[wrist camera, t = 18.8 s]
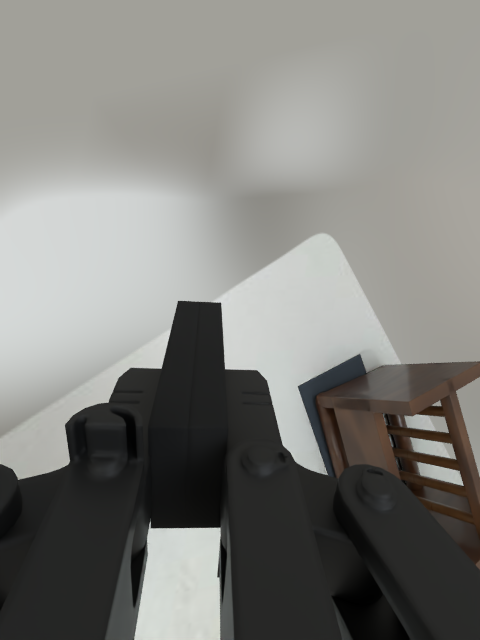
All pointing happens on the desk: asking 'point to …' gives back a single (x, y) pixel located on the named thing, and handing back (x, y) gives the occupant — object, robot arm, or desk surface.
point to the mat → (323, 384)
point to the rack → (375, 447)
